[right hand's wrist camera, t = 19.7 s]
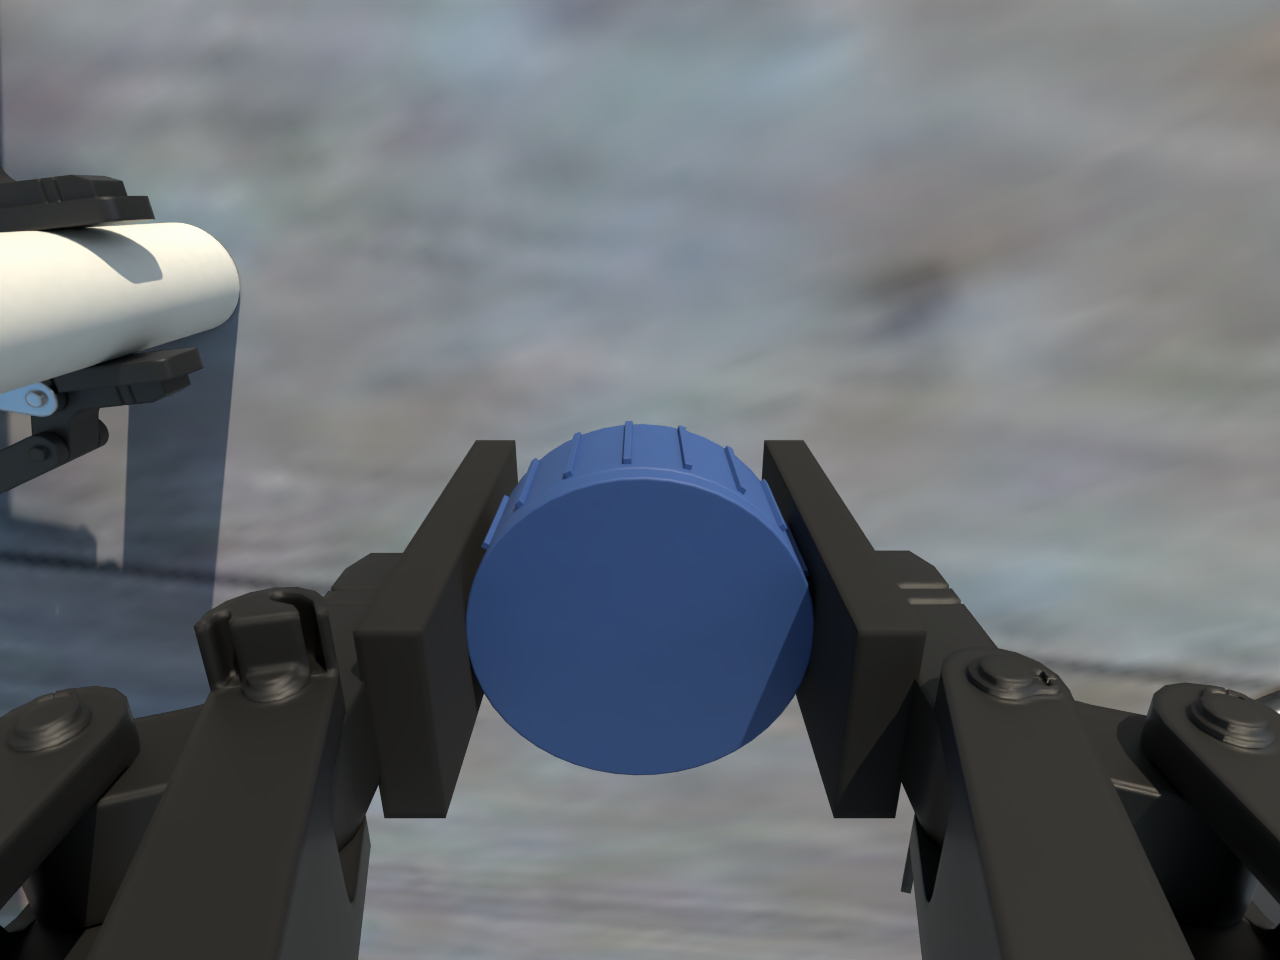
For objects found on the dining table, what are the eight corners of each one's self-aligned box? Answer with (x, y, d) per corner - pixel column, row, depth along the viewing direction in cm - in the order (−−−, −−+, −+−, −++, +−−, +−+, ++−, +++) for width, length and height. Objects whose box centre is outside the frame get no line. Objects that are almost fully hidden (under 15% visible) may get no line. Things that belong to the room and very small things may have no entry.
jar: (112, 273, 29) (-433, 352, 14) (174, 198, 28) (-343, 202, 13) (199, 351, 30) (-225, 500, 15) (261, 282, 29) (-127, 372, 14)
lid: (809, 653, 13) (843, 746, 11) (538, 707, 13) (520, 806, 11) (761, 387, 11) (790, 435, 9) (451, 458, 12) (407, 520, 9)
